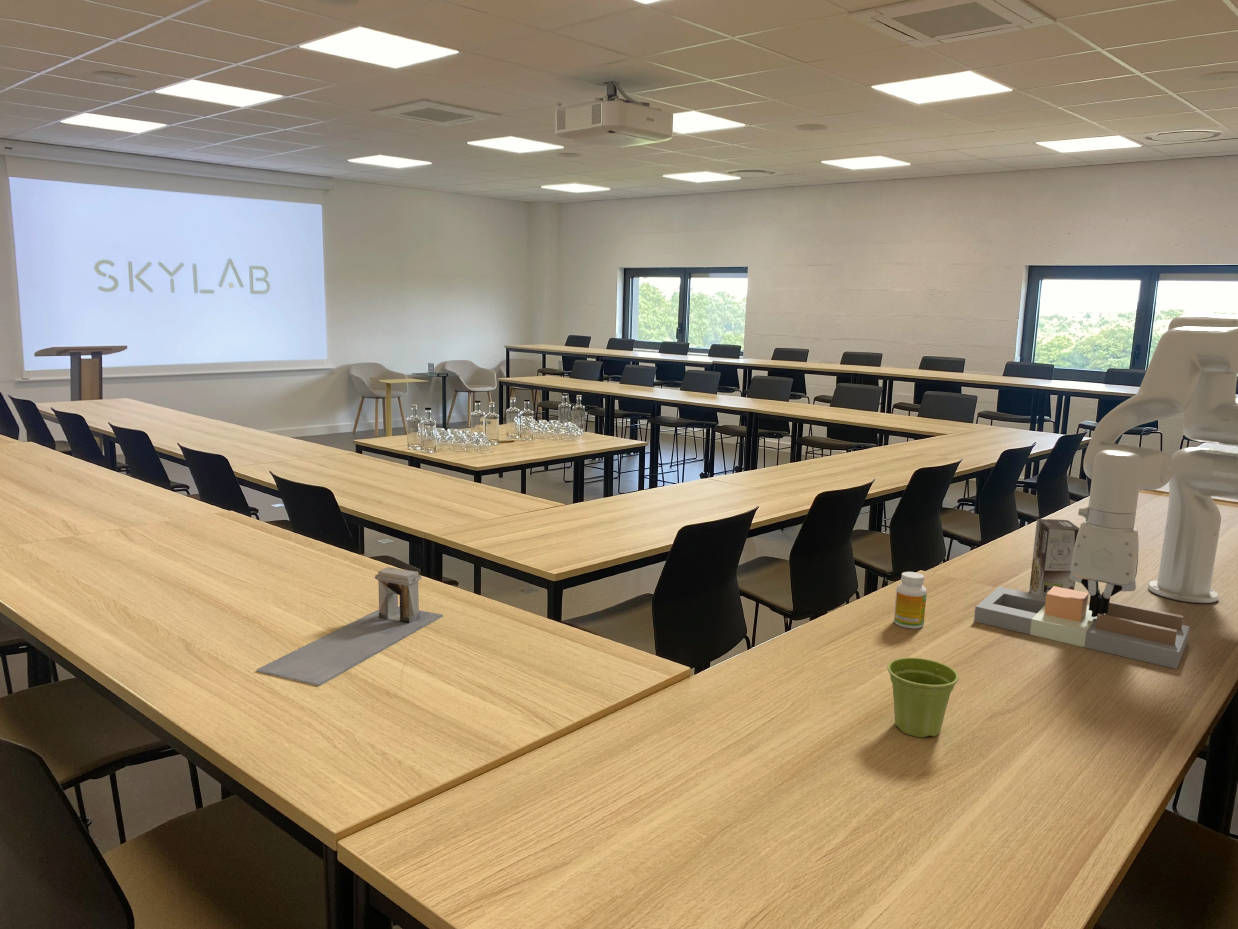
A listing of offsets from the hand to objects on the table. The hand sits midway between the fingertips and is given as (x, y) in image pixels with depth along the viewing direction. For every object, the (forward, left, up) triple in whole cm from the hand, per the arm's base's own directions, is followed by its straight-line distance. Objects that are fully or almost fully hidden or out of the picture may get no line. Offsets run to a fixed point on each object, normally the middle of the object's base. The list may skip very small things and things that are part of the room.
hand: (1097, 615), depth 158 cm
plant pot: (+58, -12, -4) cm, 59 cm away
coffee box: (-17, -11, -4) cm, 21 cm away
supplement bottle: (+18, -28, -4) cm, 34 cm away
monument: (+91, -97, -5) cm, 134 cm away
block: (0, -5, -1) cm, 5 cm away
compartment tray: (0, -3, -4) cm, 5 cm away
